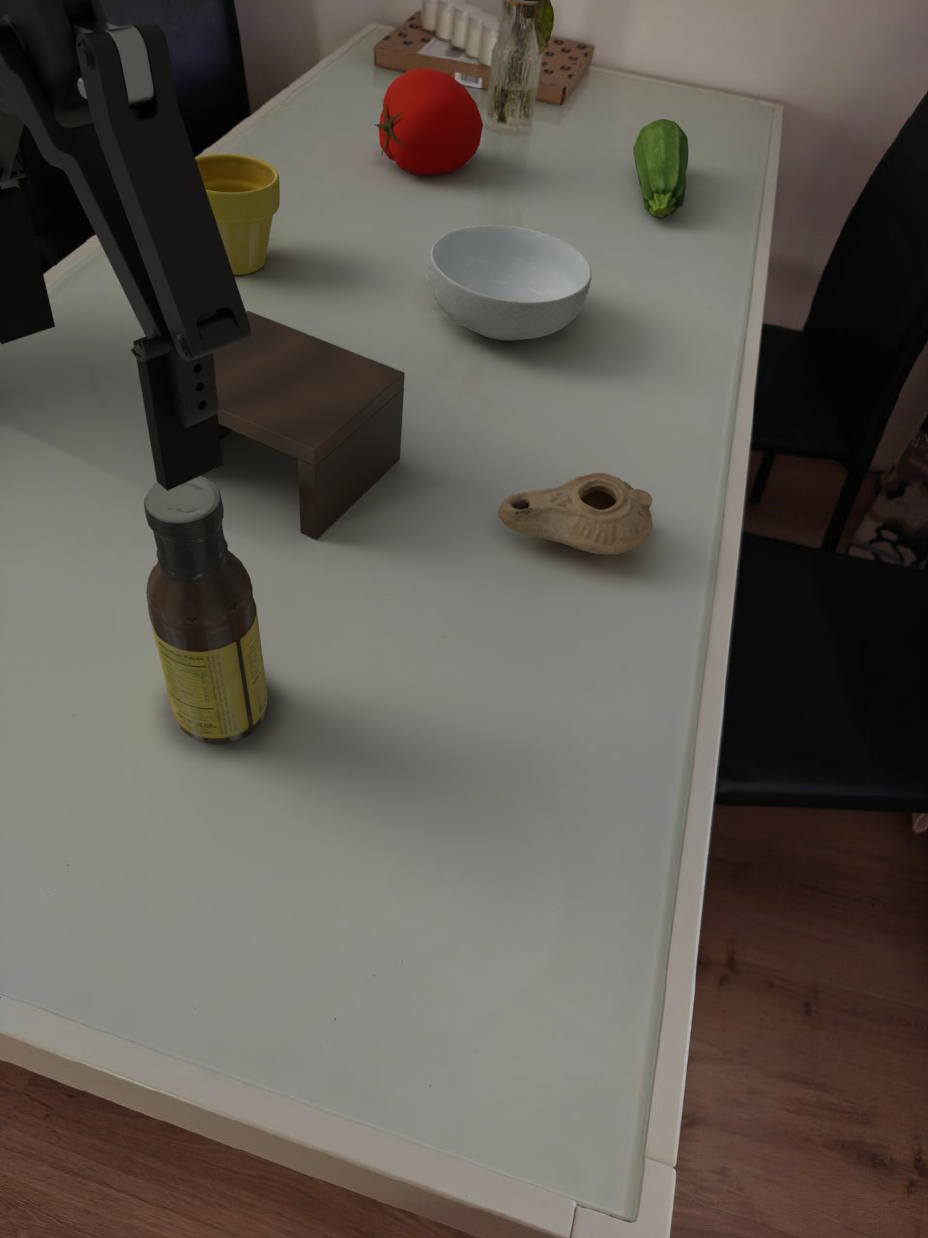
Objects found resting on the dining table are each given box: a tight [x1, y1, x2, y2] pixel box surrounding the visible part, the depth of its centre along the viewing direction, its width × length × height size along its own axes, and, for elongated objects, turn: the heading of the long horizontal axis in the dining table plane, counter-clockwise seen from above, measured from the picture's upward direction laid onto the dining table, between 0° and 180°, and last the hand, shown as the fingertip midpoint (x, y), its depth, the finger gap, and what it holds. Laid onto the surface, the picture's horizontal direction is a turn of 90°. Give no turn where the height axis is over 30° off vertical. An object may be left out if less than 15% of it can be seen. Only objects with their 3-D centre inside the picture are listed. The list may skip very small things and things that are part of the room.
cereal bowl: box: [428, 224, 592, 342], centre depth 104 cm, size 17×17×7 cm
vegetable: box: [632, 118, 689, 219], centre depth 130 cm, size 7×7×20 cm
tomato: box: [374, 67, 484, 176], centre depth 128 cm, size 13×13×13 cm
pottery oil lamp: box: [497, 472, 654, 555], centre depth 81 cm, size 9×12×7 cm
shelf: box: [213, 310, 406, 541], centre depth 83 cm, size 16×13×9 cm
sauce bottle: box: [143, 475, 269, 745], centre depth 60 cm, size 6×6×20 cm
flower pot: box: [195, 152, 281, 276], centre depth 107 cm, size 10×10×10 cm
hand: (102, 398), depth 44 cm, fingers open, 13 cm apart
